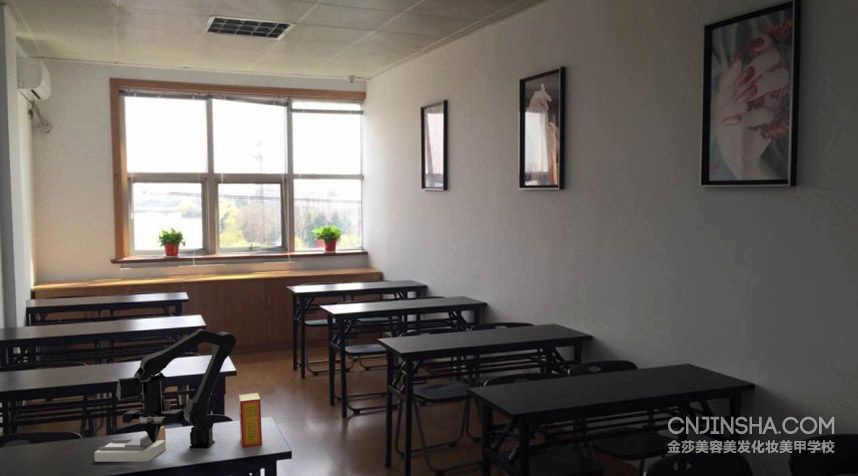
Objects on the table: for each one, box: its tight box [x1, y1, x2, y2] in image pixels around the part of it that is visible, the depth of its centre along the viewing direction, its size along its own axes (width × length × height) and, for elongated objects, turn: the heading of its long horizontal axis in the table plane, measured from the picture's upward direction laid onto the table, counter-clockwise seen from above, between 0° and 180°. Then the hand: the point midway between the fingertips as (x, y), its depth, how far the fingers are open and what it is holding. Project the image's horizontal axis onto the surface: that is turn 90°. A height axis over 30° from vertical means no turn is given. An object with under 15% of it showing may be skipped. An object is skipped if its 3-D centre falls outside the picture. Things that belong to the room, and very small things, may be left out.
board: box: [93, 438, 167, 463], centre depth 231 cm, size 18×12×4 cm, turn 84°
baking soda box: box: [238, 392, 263, 449], centre depth 241 cm, size 10×6×16 cm
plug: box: [157, 425, 167, 440], centre depth 241 cm, size 4×4×7 cm
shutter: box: [125, 434, 152, 448], centre depth 231 cm, size 6×6×3 cm
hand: (154, 442), depth 231 cm, fingers closed
